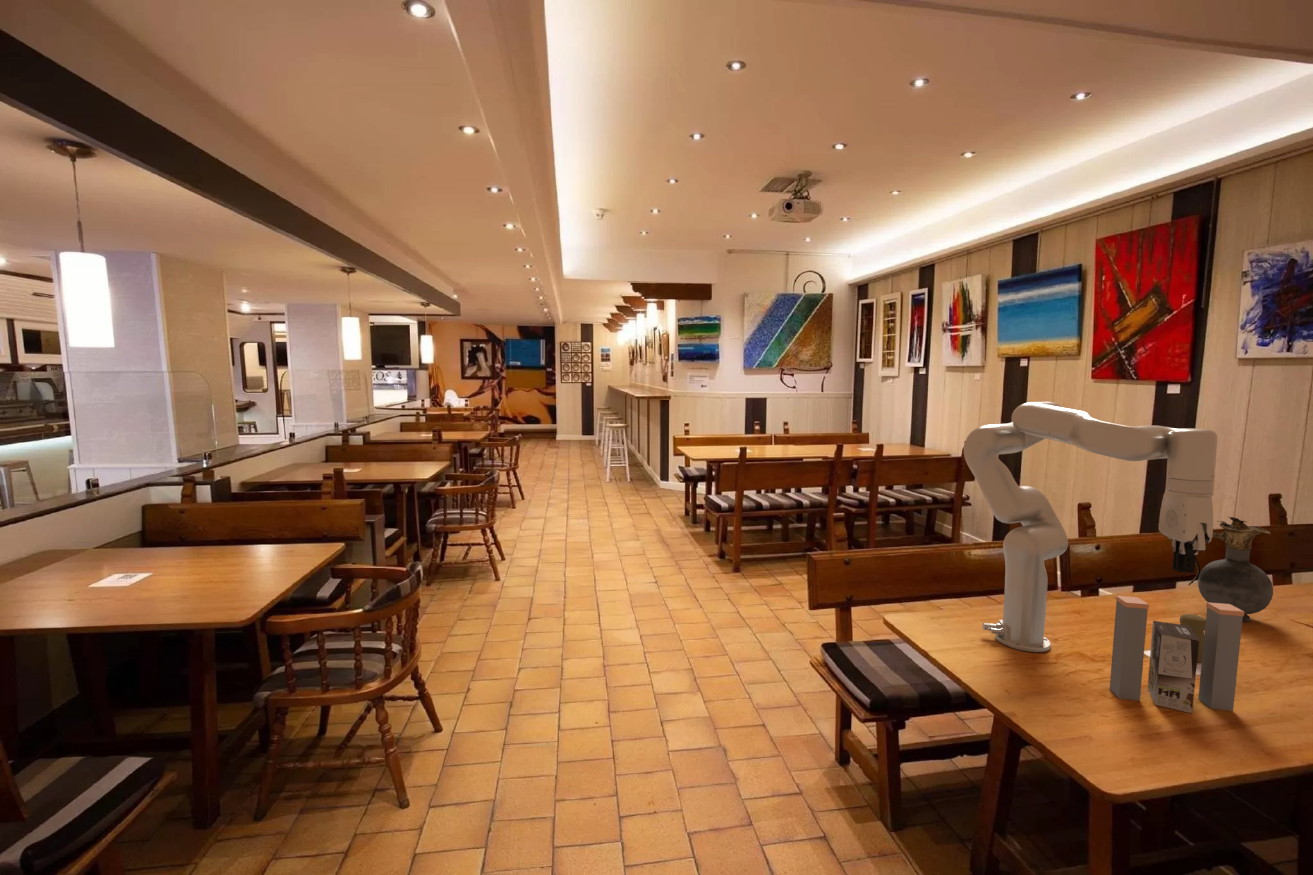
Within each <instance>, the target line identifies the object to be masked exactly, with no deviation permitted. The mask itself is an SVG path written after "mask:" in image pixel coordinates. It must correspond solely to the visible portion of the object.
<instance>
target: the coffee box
mask: <svg viewBox="0 0 1313 875" xmlns="http://www.w3.org/2000/svg"><path fill="white" fill-rule="evenodd" d="M1151 629H1152V630H1151V639H1150V640H1151V641H1150V652H1149V653H1150V654H1149V655H1150V656H1149V665H1148V666H1149V667H1148V680H1147V689H1148V691H1149V694H1150V696H1151V699H1152V701H1153V703H1154V705H1155V706H1159V707H1164V708H1167V709H1172V710H1177V711H1180V712H1185V713H1188V714H1192V713H1193V706H1194V700H1195V698H1194V697H1195V686H1196V679H1197V678H1196V676H1197V668H1198V663H1197V660H1198V650H1199V642H1200V641H1199V639H1198V638H1197V637H1196V635H1195V634H1194V633H1193V631H1192V630H1191V629H1190V627H1189V626H1186V625H1181V624H1179V623H1174V622H1173V623H1172V622H1164V621H1157V620H1152V628H1151Z"/></svg>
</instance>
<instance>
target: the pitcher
mask: <svg viewBox="0 0 1313 875" xmlns="http://www.w3.org/2000/svg"><path fill="white" fill-rule="evenodd" d="M1228 518H1229V519H1230V520H1231V521H1232V522H1231V524H1228V523H1227V522H1226V521H1225V520H1217V523H1218V522H1220V523H1219V526H1220V528H1222V529H1223V530H1224V531H1223V532H1220V533H1217V532H1214V531H1213V534H1212V538H1213V539H1216V540H1217V539H1218V540H1221V541H1222V542H1224V546H1225V547H1226V548H1225V557H1224V558H1223V559H1218V560H1213V561H1211V562H1209V563H1208V564H1206V565H1205V566H1203V568H1202V569H1201V567H1200V563H1199V562H1198V559H1197V558H1196V560H1195V567H1196V568H1197V572H1196V575H1195V577H1194V578H1193V579H1192V580H1191V581H1190V582H1189V583H1188V586H1190V585H1191V584H1193V583H1194V582H1195V581H1196V580H1197V582H1198V583H1197V587H1198V590H1199V591H1198V592H1199V594H1201V597H1202V598H1203V599H1204V600H1205V601H1206V603H1207V602H1209V603H1222V604H1231V605H1233V606H1235V607H1236V608H1238V609H1240V610H1242V611H1244V616H1243V620H1242V623H1245V622H1246V623H1247V622H1250V621H1251V616H1250V615H1253V614H1256V613H1259V612H1261V611H1263V610H1265V609H1266V608H1268V606H1269V605H1270V602H1271V601H1272V599H1273V596H1274V586H1273V583H1272V581H1271V578H1270V577H1269V576H1268V574H1267V573H1266V572H1265V571H1264V570H1262V569H1261V568H1260V567H1258V566H1256V565H1255V564H1252V563H1250V556H1251V555H1250V554H1251V550H1252V549H1253V548H1252V547H1253V546H1252V545H1253V544H1252V542H1253V540H1254V538H1255V537H1256V536H1257V535H1259V534H1261V533H1262V534H1266V535H1271V532H1270V531H1269V530H1266V529H1264V528H1262V527H1261V526H1255V525H1253V526H1252V525H1249V526H1248V524H1245V523H1247V521H1246V520H1243V519H1239V518H1238V517H1234V516H1228ZM1193 540H1194V539H1193Z"/></svg>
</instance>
